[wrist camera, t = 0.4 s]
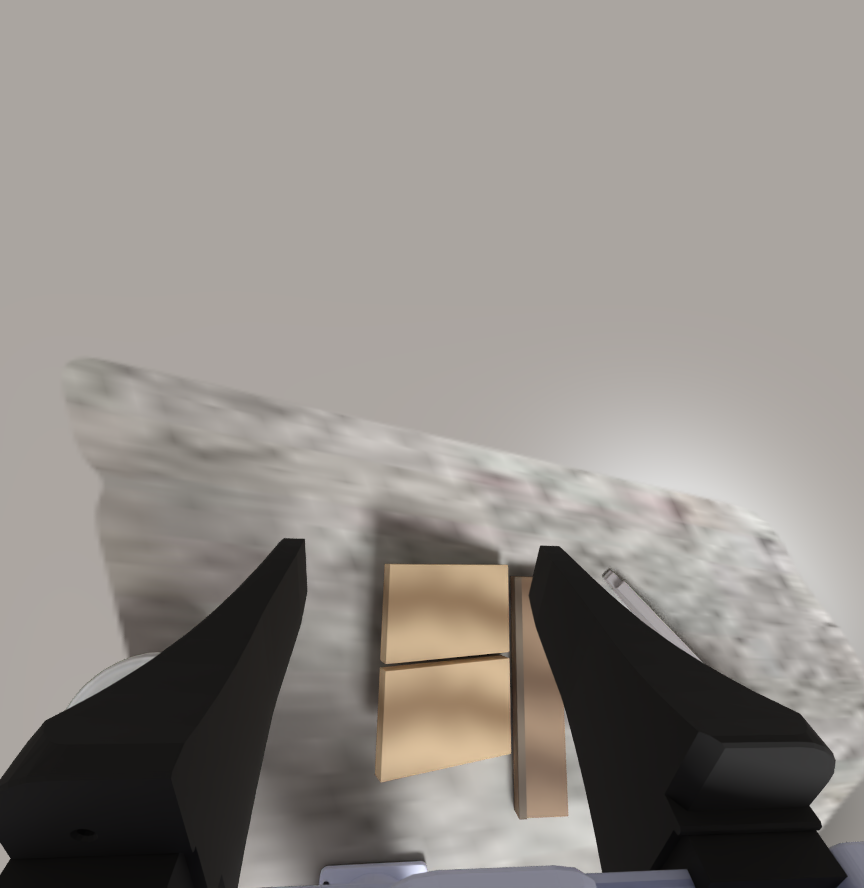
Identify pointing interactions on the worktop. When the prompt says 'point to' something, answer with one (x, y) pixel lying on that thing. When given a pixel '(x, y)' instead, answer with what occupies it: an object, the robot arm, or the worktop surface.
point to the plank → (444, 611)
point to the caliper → (644, 611)
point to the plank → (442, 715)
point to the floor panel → (535, 717)
